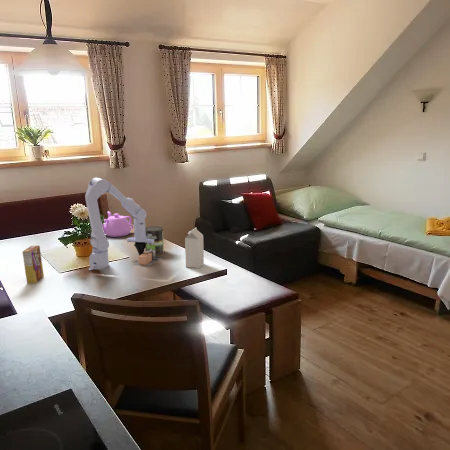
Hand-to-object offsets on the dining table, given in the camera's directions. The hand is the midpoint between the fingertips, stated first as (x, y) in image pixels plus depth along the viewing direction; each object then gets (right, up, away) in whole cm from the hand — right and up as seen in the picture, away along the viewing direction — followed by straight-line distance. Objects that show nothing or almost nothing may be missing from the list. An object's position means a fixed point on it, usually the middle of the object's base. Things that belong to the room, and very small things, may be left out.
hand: (141, 255), depth 220 cm
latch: (+5, -2, -3) cm, 6 cm away
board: (+4, -3, -5) cm, 7 cm away
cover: (+3, -3, -7) cm, 8 cm away
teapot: (-27, +10, +52) cm, 60 cm away
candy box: (-43, -9, -28) cm, 52 cm away
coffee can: (+5, 0, +11) cm, 12 cm away
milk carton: (+29, -4, -10) cm, 31 cm away
